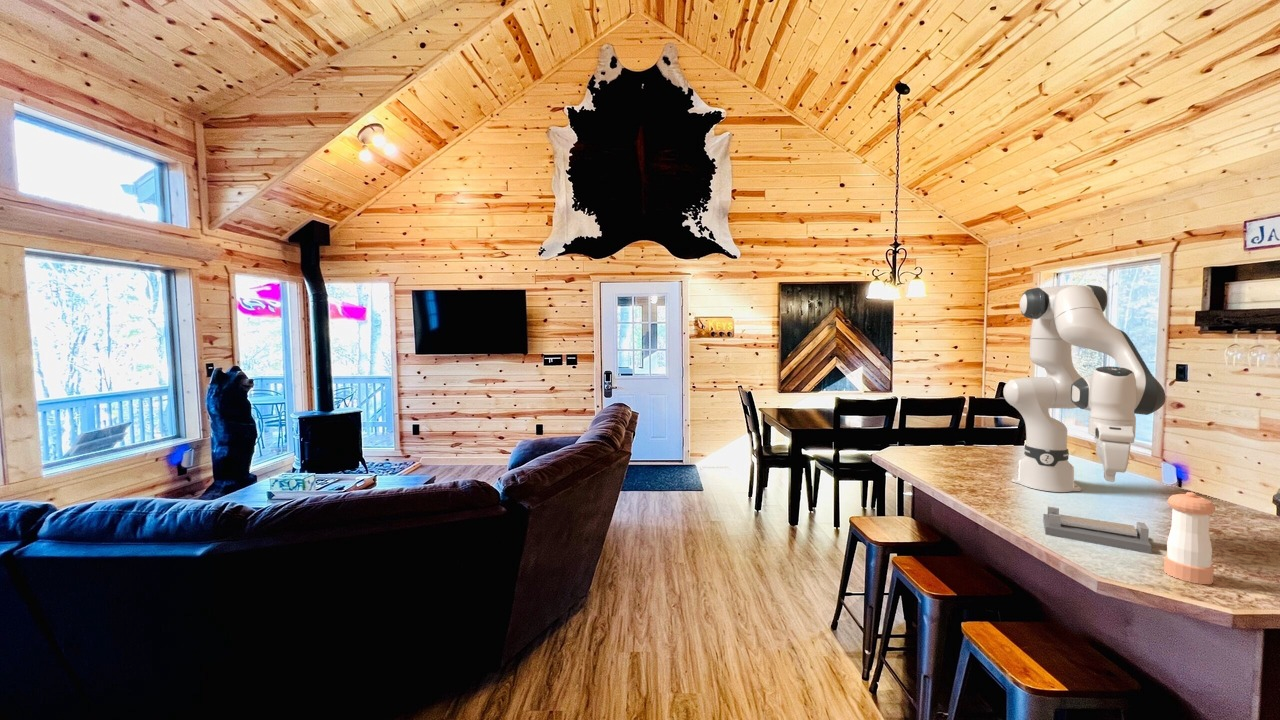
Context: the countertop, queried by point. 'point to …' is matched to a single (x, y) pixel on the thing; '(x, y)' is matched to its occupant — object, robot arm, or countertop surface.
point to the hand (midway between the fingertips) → (1109, 480)
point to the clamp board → (1097, 534)
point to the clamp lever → (1098, 525)
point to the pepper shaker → (1190, 539)
